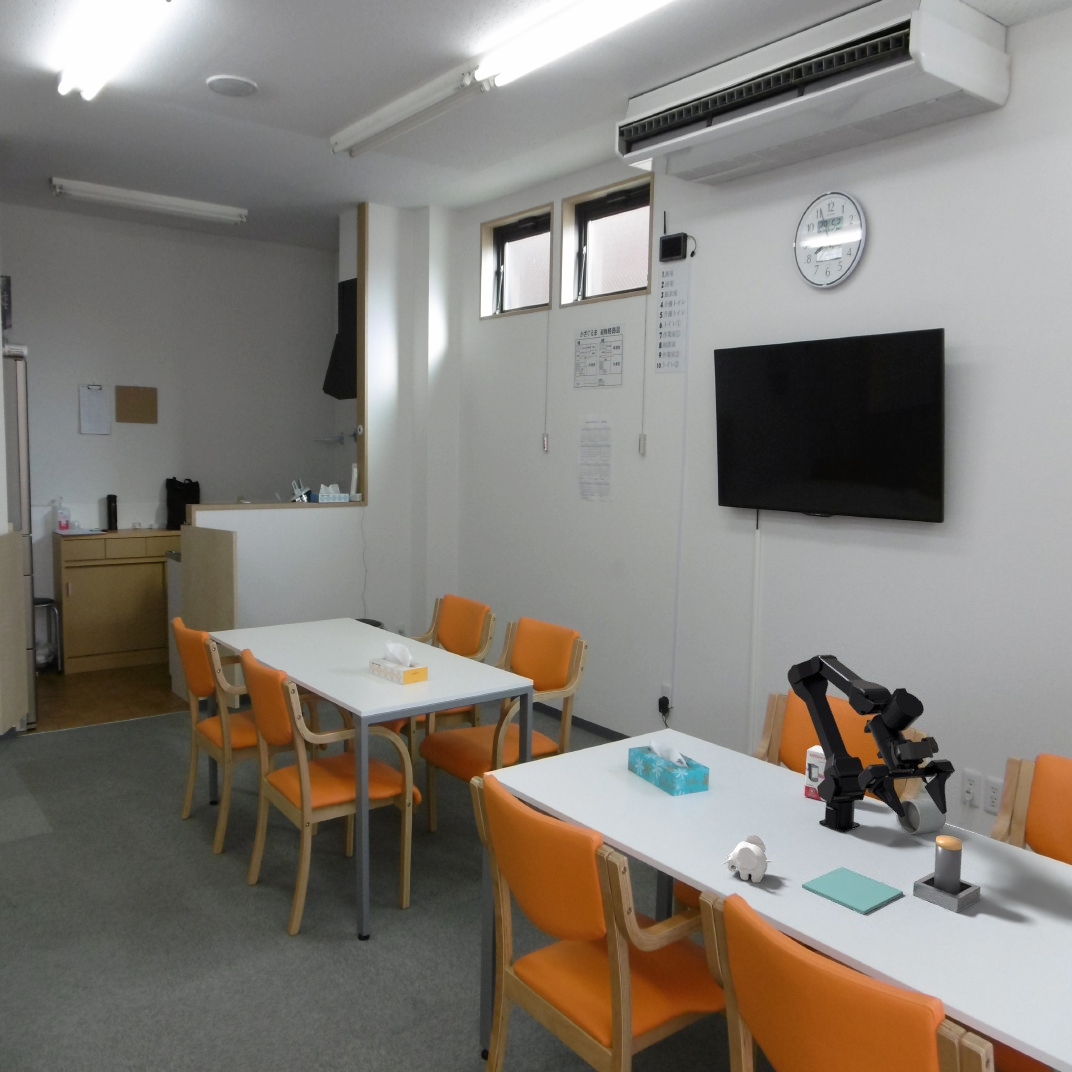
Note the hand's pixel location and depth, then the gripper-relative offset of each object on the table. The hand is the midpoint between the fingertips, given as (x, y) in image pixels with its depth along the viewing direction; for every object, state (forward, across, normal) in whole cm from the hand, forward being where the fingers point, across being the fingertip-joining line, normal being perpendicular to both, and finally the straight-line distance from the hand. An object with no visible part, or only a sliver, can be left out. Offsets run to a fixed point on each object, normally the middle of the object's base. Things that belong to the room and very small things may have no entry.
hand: (924, 815), depth 175 cm
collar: (+14, 0, +4) cm, 15 cm away
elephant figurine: (+3, -32, +16) cm, 36 cm away
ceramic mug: (-6, +16, +25) cm, 30 cm away
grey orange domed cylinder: (+14, 0, +4) cm, 15 cm away
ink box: (-22, +6, +40) cm, 46 cm away
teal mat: (+10, -16, +8) cm, 21 cm away
